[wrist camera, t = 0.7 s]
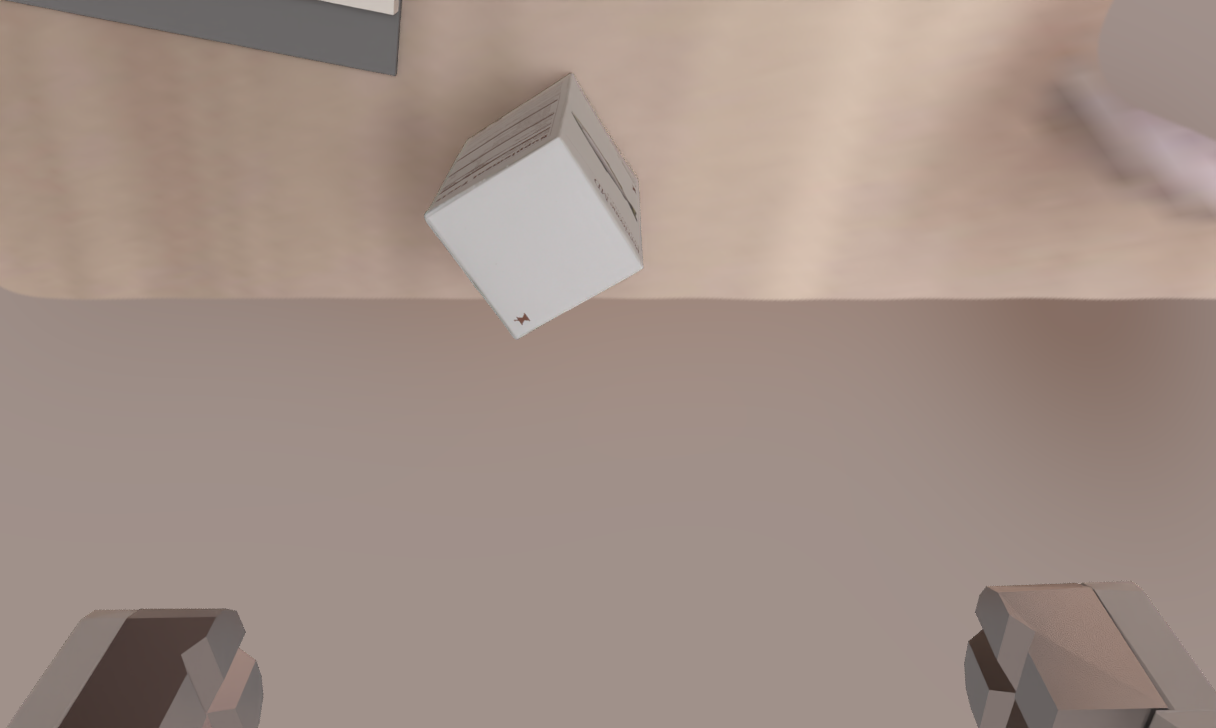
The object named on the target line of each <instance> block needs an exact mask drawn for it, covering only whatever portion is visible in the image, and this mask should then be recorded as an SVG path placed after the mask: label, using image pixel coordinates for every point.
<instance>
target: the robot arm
mask: <svg viewBox="0 0 1216 728" xmlns="http://www.w3.org/2000/svg"><path fill="white" fill-rule="evenodd" d="M975 613H976V615H977V617H978V619H979V622H980V624H981V626H982V628H983V629H982V630H981V631H980V632H979V633H978V634H977V635H975V636H974V637H973V638H972V639H971V640H969V641H968V646H967V651H966V657H965V662H964V667H965V683H966V691H967V695H968V699H969V703H970V707H971V710H972V713H973V715H974V718H975V720H976V723H977V726H978V728H1216V691H1215V690H1214V689H1213V687H1212V685H1211V684H1210V683H1209V681H1208V680H1207V678H1206V677H1205V676H1204V674H1203V673H1202V671H1201V670H1200V669H1199V667H1198V666H1197V664H1196V663H1195V662H1194V660H1193V659H1192V657H1191V656H1190V655H1189V653H1188V652H1187V650H1186V649H1185V648H1184V646H1183V645H1182V644H1181V642H1180V641H1179V639H1178V638H1177V636H1176V635H1175V634H1174V632H1173V631H1172V629H1171V628H1170V627H1169V625H1168V624H1167V622H1166V621H1165V620H1164V618H1163V617H1162V616H1161V614H1160V613H1159V611H1158V610H1157V609H1156V607H1155V606H1154V604H1153V603H1152V601H1151V600H1150V599H1149V597H1148V596H1147V594H1146V593H1145V592H1144V590H1143V589H1142V588H1141V587H1140V586H1138V585H1136V584H1135V583H1134V582H1132V581H1116V582H1089V583H1081V584H1078V583H1062V584H1061V583H1060V584H1035V585H1009V586H986V588H985V589H984V590H983V591H982V593H981V594H980V595H979V599H978V603H977V607H976V611H975ZM245 633H246V632H245V629H244V627H243V624H242V622H241V620H240V617H239V615H238V613H237V611H235V610H229V609H139V610H94V611H93V612H91V613H90V614H88V615H87V616H85V617H84V618H82V619H81V620H80V621H79V623H78V624H77V626H76V627H75V628H74V630H73V631H72V633H71V634H70V636H69V637H68V639H67V640H66V641H65V643H64V644H63V646H62V647H61V649H60V650H59V652H58V653H57V655H56V656H55V658H54V659H53V660H52V662H51V664H50V665H49V666H48V668H47V669H46V670H45V672H44V673H43V675H42V676H41V678H40V679H39V681H38V682H37V684H36V685H35V686H34V688H33V689H32V691H31V692H30V694H29V695H28V697H27V698H26V699H25V701H24V702H23V704H22V705H21V707H20V708H19V710H18V711H17V713H16V714H15V715H14V717H13V719H12V720H11V722H10V723H9V724H8V726H7V727H6V728H258V725H259V722H260V715H261V708H262V702H263V687H262V677H261V673H260V670H259V667H258V664H257V662H256V660H255V659H254V658H252V657H251V656H250V655H248V654H247V653H246V652H244V651H243V650H241V649H240V648H239V646H240V644H241V641H242V639H243V637H244V635H245Z"/></svg>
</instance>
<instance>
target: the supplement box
mask: <svg viewBox="0 0 1216 728" xmlns="http://www.w3.org/2000/svg"><path fill="white" fill-rule="evenodd" d="M424 218H425V221H426V222H427V224H428V225H429V226H430V228H431V229H432V230H433V232H434V233H435V235H436V236H437V237H438V238H439V240H440V241H441V242H442V243H443V245H444V246H445V247H446V249H447V250H448V251H449V253H450V254H451V255H452V257H453V258H454V259H455V261H456V262H457V263H458V265H459V266H460V267H461V268H462V270H463V271H464V272H465V274H466V275H467V277H468V278H469V280H470V281H471V283H472V284H473V285H474V287H475V288H476V289H477V290H478V291H479V292H480V294H481V295H482V296H483V298H484V299H485V300H486V302H487V303H488V304H489V305H490V306H491V308H492V309H493V311H494V312H495V313H496V315H497V316H498V317H499V319H500V320H501V321H502V322H503V324H504V325H505V327H506V328H507V329H508V331H509V332H510V334H511V335H512V336H513V338H514V339H517V340H518V339H520V338H521V337H523V336H525V335H526V334H528V333H530V332H531V331H533V330H535V329H537V328H538V327H540V326H542V325H543V324H545V323H547V322H549V321H550V320H552V319H554V318H556V317H557V316H559V315H561V314H563V313H564V312H566V311H568V310H570V309H572V308H574V307H575V306H577V305H579V304H581V303H582V302H585V301H586V300H588V299H590V298H592V297H594V296H595V295H597V294H599V293H601V292H603V291H604V290H606V289H608V288H610V287H612V286H613V285H615V284H617V283H619V282H621V281H623V280H624V279H626V278H628V277H630V276H632V275H633V274H635V273H637V272H638V271H640V270H641V269H643V256H642V237H641V216H640V194H639V180H638V178H637V177H636V176H635V174H634V173H633V171H632V170H631V168H630V167H629V165H628V164H627V162H626V161H625V159H624V158H623V156H622V155H621V153H620V152H619V150H618V149H617V147H616V145H615V144H614V142H613V141H612V139H611V137H610V136H609V134H608V133H607V131H606V129H605V128H604V126H603V124H602V123H601V121H600V119H599V118H598V116H597V114H596V112H595V111H594V109H593V107H592V106H591V104H590V102H589V101H588V99H587V97H586V95H585V94H584V92H583V90H582V88H581V87H580V85H579V83H578V81H577V79H576V78H575V76H574V74H573V73H570V74H568V75H567V76H565V77H564V78H562V79H561V80H559V81H558V82H556V83H555V84H553V85H552V86H550V87H549V88H547V89H545V90H544V91H542V92H541V93H539V94H538V95H536V96H535V97H533V98H531V99H530V100H528V101H527V102H525V103H524V104H522V105H520V106H519V107H517V108H516V109H514V110H513V111H511V112H509V113H508V114H506V115H505V116H503V117H502V118H500V119H499V120H497V121H495V122H494V123H492V124H491V125H489V126H488V127H486V128H484V129H483V130H481V131H480V132H478V133H477V134H475V135H474V136H472V137H471V138H469V139H468V140H467V141H466V143H465V144H464V146H463V148H462V150H461V151H460V153H459V154H458V156H457V158H456V160H455V162H454V163H453V165H452V167H451V169H450V171H449V173H448V175H447V176H446V178H445V180H444V182H443V184H442V186H441V188H440V189H439V191H438V193H437V195H436V197H435V199H434V200H433V202H432V204H431V206H430V207H429V209H428V210H427V211H426V213H425V214H424Z"/></svg>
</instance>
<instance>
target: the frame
mask: <svg viewBox="0 0 1216 728" xmlns="http://www.w3.org/2000/svg"><path fill="white" fill-rule="evenodd" d="M321 1H326V2H331V3H336V4H341V5H346V6H351V7H356V8H361V9H366V10H371V11H376V12H381V13H386V14H390V15H394V14H395V13H397V12H398V10H399V0H321Z"/></svg>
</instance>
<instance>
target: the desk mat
mask: <svg viewBox="0 0 1216 728" xmlns="http://www.w3.org/2000/svg"><path fill="white" fill-rule="evenodd" d="M7 1H13V2H18V3H23V4H28V5H33V6H38V7H43V8H49V9H54V10H59V11H64V12H69V13H74V14H79V15H84V16H90V17H95V18H100V19H105V20H110V21H115V22H120V23H126V24H131V25H136V26H141V27H146V28H151V29H156V30H162V31H167V32H172V33H177V34H182V35H187V36H192V37H198V38H203V39H208V40H213V41H218V42H223V43H228V44H234V45H239V46H244V47H249V48H254V49H259V50H264V51H269V52H275V53H280V54H285V55H290V56H295V57H300V58H305V59H311V60H316V61H321V62H326V63H331V64H336V65H341V66H347V67H352V68H357V69H362V70H367V71H372V72H377V73H383V74H388V75H393V76H396V74H397V62H398V48H399V33H400V18H401V3H402V0H399V10H398V12H397V13H395V14H394V15H390V14H386V13H381V12H376V11H371V10H366V9H361V8H356V7H351V6H346V5H341V4H336V3H331V2H326V1H321V0H7Z"/></svg>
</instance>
